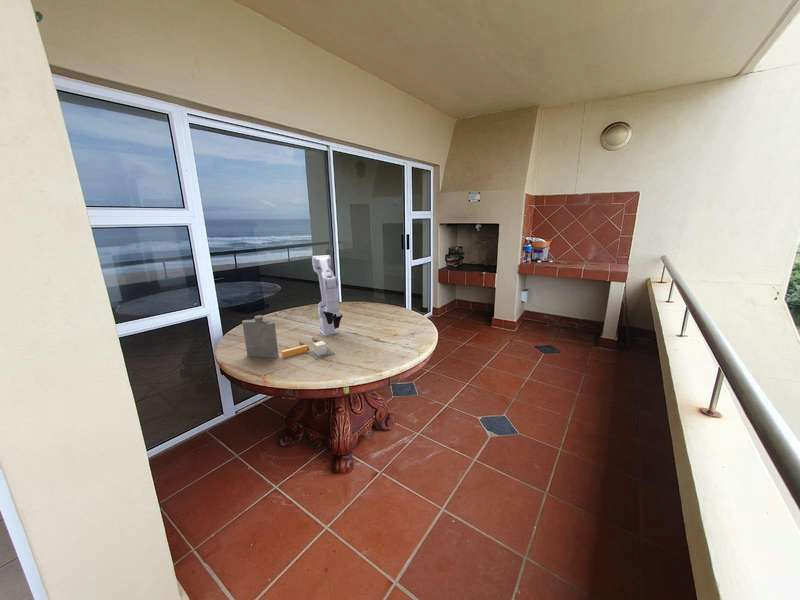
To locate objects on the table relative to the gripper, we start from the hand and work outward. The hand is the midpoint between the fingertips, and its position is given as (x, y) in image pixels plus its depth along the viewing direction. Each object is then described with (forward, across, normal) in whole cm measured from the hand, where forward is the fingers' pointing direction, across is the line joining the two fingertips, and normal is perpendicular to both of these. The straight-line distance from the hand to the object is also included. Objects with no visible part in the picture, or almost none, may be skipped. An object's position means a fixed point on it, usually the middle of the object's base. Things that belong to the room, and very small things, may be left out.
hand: (333, 325), depth 166 cm
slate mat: (+9, +8, -11) cm, 17 cm away
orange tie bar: (+9, +1, -21) cm, 23 cm away
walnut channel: (+9, -5, -11) cm, 15 cm away
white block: (+9, +8, -11) cm, 16 cm away
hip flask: (+10, -7, -34) cm, 36 cm away
